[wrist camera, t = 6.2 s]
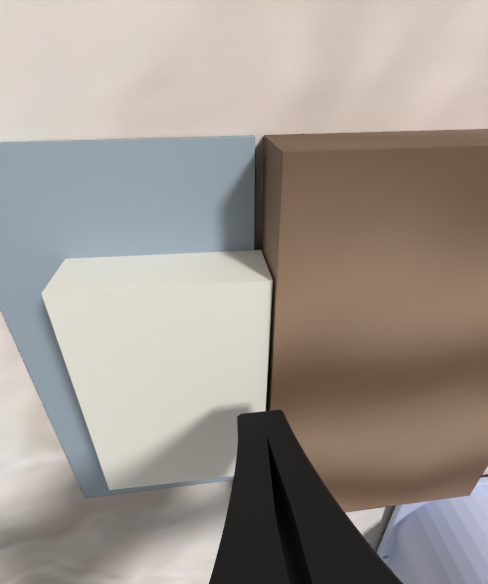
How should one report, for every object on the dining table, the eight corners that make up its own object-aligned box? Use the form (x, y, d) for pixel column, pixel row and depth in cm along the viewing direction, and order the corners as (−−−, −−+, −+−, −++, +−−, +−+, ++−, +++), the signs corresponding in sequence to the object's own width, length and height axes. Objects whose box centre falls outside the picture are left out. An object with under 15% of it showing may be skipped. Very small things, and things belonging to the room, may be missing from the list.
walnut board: (439, 449, 19) (469, 495, 17) (257, 471, 18) (265, 523, 16) (587, 126, 11) (682, 139, 9) (264, 135, 10) (283, 152, 8)
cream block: (254, 431, 16) (261, 472, 14) (118, 444, 15) (109, 490, 14) (261, 249, 11) (272, 281, 10) (65, 258, 11) (41, 293, 9)
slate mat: (251, 471, 18) (252, 477, 18) (86, 491, 17) (85, 497, 17) (253, 135, 10) (254, 137, 10) (-66, 144, 9) (-73, 146, 9)
